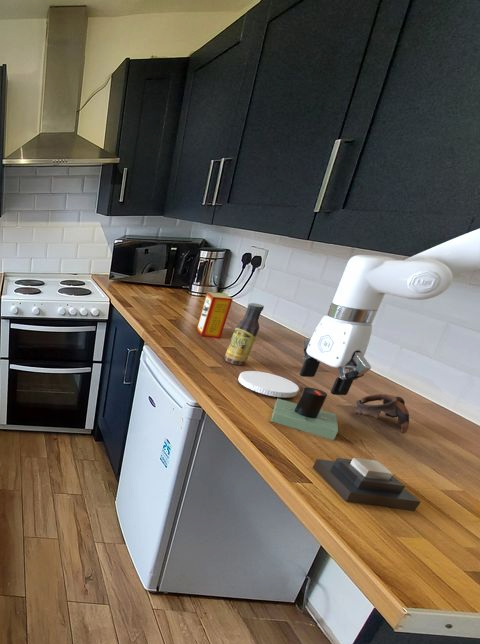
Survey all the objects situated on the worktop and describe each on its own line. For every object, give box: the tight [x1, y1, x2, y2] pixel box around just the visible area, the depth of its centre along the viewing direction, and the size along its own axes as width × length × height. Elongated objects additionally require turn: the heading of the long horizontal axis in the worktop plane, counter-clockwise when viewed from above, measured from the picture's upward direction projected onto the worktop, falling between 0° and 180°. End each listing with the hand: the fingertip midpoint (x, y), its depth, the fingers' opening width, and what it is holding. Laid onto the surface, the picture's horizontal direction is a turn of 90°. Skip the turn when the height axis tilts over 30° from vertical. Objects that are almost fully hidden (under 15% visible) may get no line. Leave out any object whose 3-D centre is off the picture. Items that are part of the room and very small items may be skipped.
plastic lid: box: [238, 370, 300, 399], centre depth 114 cm, size 14×14×2 cm
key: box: [350, 457, 394, 480], centre depth 75 cm, size 4×4×2 cm
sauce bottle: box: [224, 302, 265, 366], centre depth 129 cm, size 6×6×20 cm
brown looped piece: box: [353, 393, 410, 434], centre depth 100 cm, size 12×10×8 cm
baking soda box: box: [195, 291, 234, 339], centre depth 157 cm, size 10×6×16 cm
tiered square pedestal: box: [312, 457, 421, 512], centre depth 76 cm, size 11×10×4 cm
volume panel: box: [270, 398, 339, 441], centre depth 98 cm, size 12×10×3 cm
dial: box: [295, 386, 328, 418], centre depth 96 cm, size 4×4×6 cm
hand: (321, 384), depth 94 cm, fingers open, 9 cm apart
